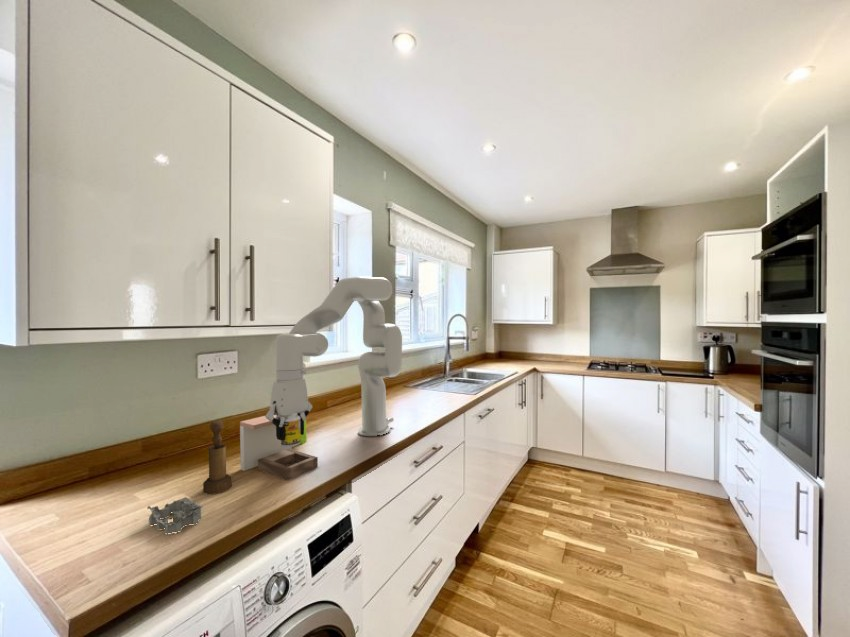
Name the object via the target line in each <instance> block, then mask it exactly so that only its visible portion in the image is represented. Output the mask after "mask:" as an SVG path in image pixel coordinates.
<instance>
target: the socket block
mask: <svg viewBox="0 0 850 637" xmlns="http://www.w3.org/2000/svg"><path fill="white" fill-rule="evenodd" d="M318 460H319V458H318V456H315V455H311V454H308V453H306V452H305V453H304V452H301V451H298V450H294V449H287V450H284V451H281V452H278V453H275V454H272V455H269V456H267V457H264V458H261V459H258V466H257V470H258V471H261V472H263V473H266V474H268V475H271V476H274V477H276V478H279V479H281V480H283V479H284V480H283V481H289V480H291V479H294V478H296V477H298V476H300V475H303V474H305V472H306V473H308V472H310V471H312V469H313V470H315V469H317V468H318V467H319V466H318V465H319V464H318V462H319V461H318Z"/></svg>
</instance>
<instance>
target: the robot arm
mask: <svg viewBox="0 0 850 637" xmlns="http://www.w3.org/2000/svg"><path fill="white" fill-rule="evenodd" d="M392 294H393V285H392V282H390V280H388V279H387V278H385V277H373V276H372V277H371V276H353V277H346V278H342V279H340V280H338V281H337V282H336V284H335V285H334V286H333V287H332V289H331V291H330V292H329V293H328V295H327V296H326V297H325V299H324V300H323V301H322V303H321V304H320V305H319V306H317V307H316V308H314V309H313V310H312V311H310V312H309V313H307V314H306V315H304V316H303V317H302V318H300V320H299V321H297V323H296V324H295V325H294V326H293V327H292V328H291V329H290V332H289V333H288V334H287V333H285V334H279V335H277V336H276V337H275V376H276V377H275V378H276V380H274V381H273V382H272V386H271V393H270V404H269V406H270V407H269V410H268V411H267V413H266V414H265V415H264V416H265V418H267V419H268V420H269V421H271V422H272V423H273V424H274V425H275V426H276V437H277V439H278V440H282V441H283V440H285V426H283V424H284V420H285V417H286V416H288V415H291V414H293V413H297V414H298V415H299V416H300V428H301V435H303V434H304V421H305V420H306V421H307V417H308V415H309V413H310V411H312V409H313V408H314V407H313V404H312V403H311V402H310V401H309V399H308V390H307V388H308V387H307V382H306V378H304V375H305V374H307V371H306V369H304V357H315V358H316V357H319V356H322V355H324V354H325V353H326V352H327V350H328V347H329V342H328V338H327V337H326V336H325V335H324V334H322V333H320V332H319V331H321V330H323V329H324V328H327V327H330V326H332V325H335V324H337V323H339V322H341V321H342V320H343V318H344V317H345V315H346V314H347V312H348V310H349V309H350V308H351V306H352V305H353V303H354V302H357V303H358V304H359V306H360V307H361V310H362V312H363V317H362V318H363V325H362V326H363V328H362V331H363V332H362V339H363V340H362V342H363V344H364V346H365V347H366V348H370V349H384V351H366V352H364V353H363V354H360V356H359V359H358V362H357V365H358V372H359V377H360V385H361V386H360V388H361V391H360V392H361V425H362V426H360V427H359V428H358V430H357V431H358V432H357V433H358V434H359V435H360V436H363V435H364V437H378V436H377V435H380V436H384V435H383V434H385V435H387V434H388V432H389V433H390V432H391V427H390V426H389V424H391V423H393V422H394V417H392V416H391V417H387V397H386V395H387V394H386V393H387V392H386V390H387V389H386V388H387V387H386V383H385V381H384V379H383V377H387V378H389V377H390V378H395V377H397V376H398V375H399V374H400V372H401V369H402V363H403V362H402V361H403V360H402V357H403V356H402V355H403V354H402V353H403V335H402V331H401V329H400V328H399V326H397V325H396V324H393V323H386V318H385V317H386V316H385V315H386V314H385V309H384V306H383V305H382V304H381V302H382V301H388V300H389V299H390V297H391V296H392ZM273 415H276V418H274V416H273ZM386 433H387V434H386Z"/></svg>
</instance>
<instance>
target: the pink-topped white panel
mask: <svg viewBox="0 0 850 637" xmlns="http://www.w3.org/2000/svg"><path fill="white" fill-rule="evenodd" d="M265 416H266V415H262V416H259V417H254V418H251V419H246V420H241V421H240V422H239V438H240V440H239V441H240V442H239V444H240V445H239V446H240V447H239V448H240V450H239V451H240V470H241V471H244V472H245V471H247V470H250V469H251V470H252V469H253V468H256V467H258V459H261V458H264V457H267V456H269V455H272V454H275V453H278V452H281V451H284V450H287V449H292V448H293V447H283V446H281V440H278V439H277V437H276V426H275V425H274V424H273V423H272V422H271V421H269V420H268V419H267V418H265ZM273 416H274V418H276V415H273ZM292 450H293V449H292Z"/></svg>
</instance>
